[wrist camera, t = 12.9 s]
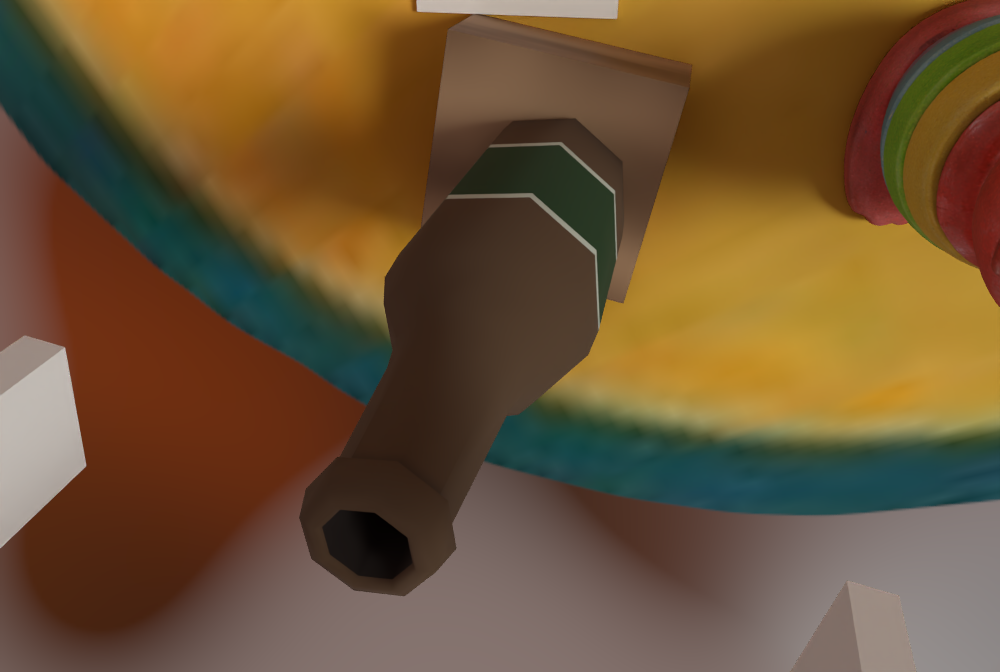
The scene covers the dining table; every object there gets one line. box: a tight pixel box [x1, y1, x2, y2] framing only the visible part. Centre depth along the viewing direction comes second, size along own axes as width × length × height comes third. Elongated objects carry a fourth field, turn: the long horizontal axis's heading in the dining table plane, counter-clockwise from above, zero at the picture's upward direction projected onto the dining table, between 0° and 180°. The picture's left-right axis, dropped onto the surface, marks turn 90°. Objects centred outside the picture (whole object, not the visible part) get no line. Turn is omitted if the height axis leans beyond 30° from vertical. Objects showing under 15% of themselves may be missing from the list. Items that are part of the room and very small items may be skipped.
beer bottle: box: [299, 118, 624, 596], centre depth 28 cm, size 8×8×24 cm
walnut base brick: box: [421, 14, 692, 303], centre depth 40 cm, size 11×11×5 cm
